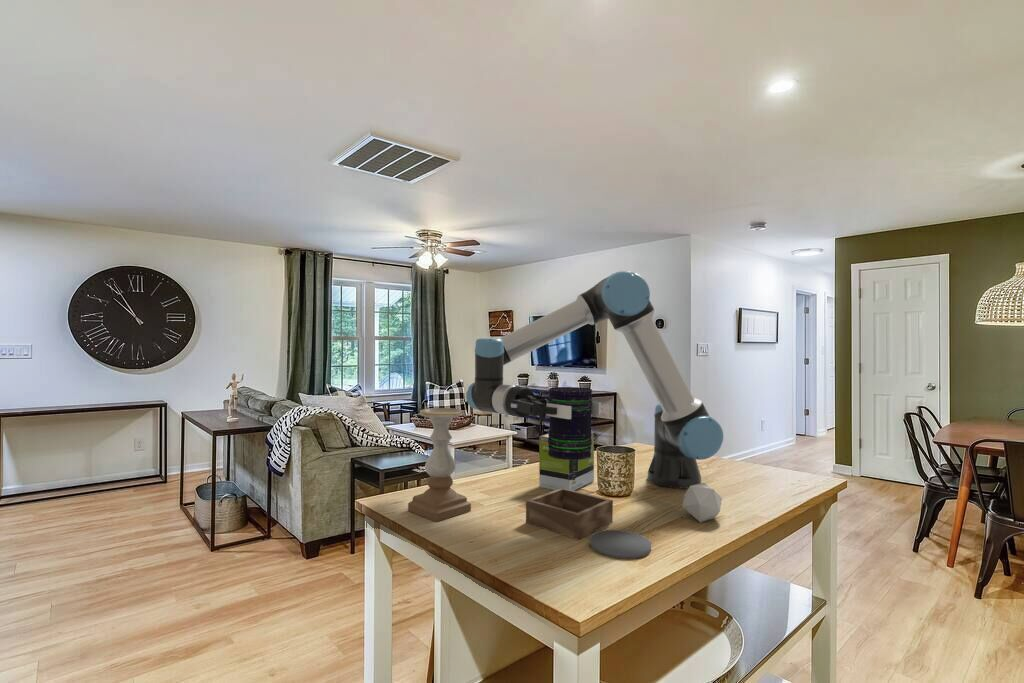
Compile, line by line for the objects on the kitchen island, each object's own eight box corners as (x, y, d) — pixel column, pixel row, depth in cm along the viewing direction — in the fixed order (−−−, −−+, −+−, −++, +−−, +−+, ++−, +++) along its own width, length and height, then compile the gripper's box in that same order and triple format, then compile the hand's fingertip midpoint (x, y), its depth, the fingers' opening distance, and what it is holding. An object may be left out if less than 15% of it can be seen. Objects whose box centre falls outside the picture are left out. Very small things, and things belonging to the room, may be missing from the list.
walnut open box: (561, 508, 126) (562, 487, 126) (612, 522, 117) (612, 500, 117) (525, 522, 115) (526, 500, 115) (578, 539, 106) (578, 515, 106)
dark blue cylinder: (598, 459, 112) (599, 391, 112) (555, 461, 110) (556, 391, 110) (582, 449, 122) (583, 386, 122) (542, 451, 120) (543, 387, 120)
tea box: (564, 476, 156) (565, 427, 156) (594, 482, 150) (595, 431, 150) (537, 487, 144) (538, 434, 144) (569, 494, 138) (570, 439, 138)
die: (699, 512, 127) (677, 481, 126) (732, 502, 122) (708, 469, 121) (695, 534, 120) (671, 502, 119) (729, 524, 115) (704, 490, 115)
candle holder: (406, 510, 122) (408, 410, 122) (442, 500, 130) (444, 406, 130) (435, 522, 115) (437, 415, 115) (472, 510, 123) (474, 411, 123)
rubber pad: (608, 530, 112) (609, 525, 112) (661, 545, 104) (661, 540, 104) (578, 546, 103) (578, 541, 103) (633, 564, 95) (633, 559, 95)
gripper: (544, 411, 137) (614, 422, 121) (480, 420, 121) (551, 433, 105) (544, 383, 137) (615, 390, 121) (480, 388, 121) (551, 397, 105)
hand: (585, 410), depth 113 cm, fingers closed on dark blue cylinder, 10 cm apart
